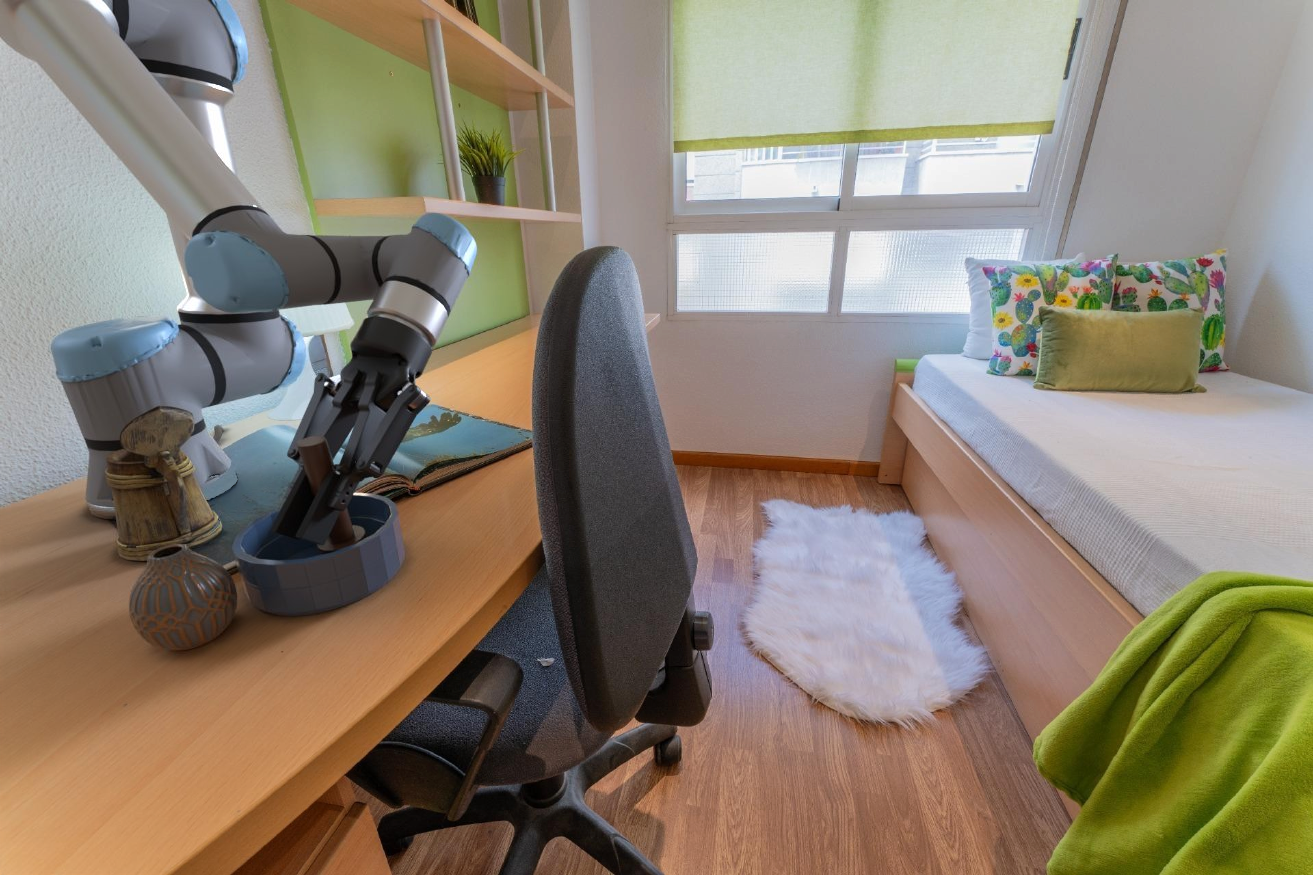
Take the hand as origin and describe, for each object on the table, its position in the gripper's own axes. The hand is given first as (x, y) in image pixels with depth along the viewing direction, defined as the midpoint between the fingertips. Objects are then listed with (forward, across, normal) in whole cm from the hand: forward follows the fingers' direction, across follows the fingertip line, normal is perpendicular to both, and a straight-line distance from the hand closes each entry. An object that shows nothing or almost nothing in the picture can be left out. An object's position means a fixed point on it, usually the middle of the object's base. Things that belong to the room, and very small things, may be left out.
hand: (297, 537), depth 49 cm
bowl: (+2, +2, -8) cm, 9 cm away
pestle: (+1, 0, -8) cm, 8 cm away
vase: (+10, +6, 0) cm, 12 cm away
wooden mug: (+3, +23, -7) cm, 24 cm away
